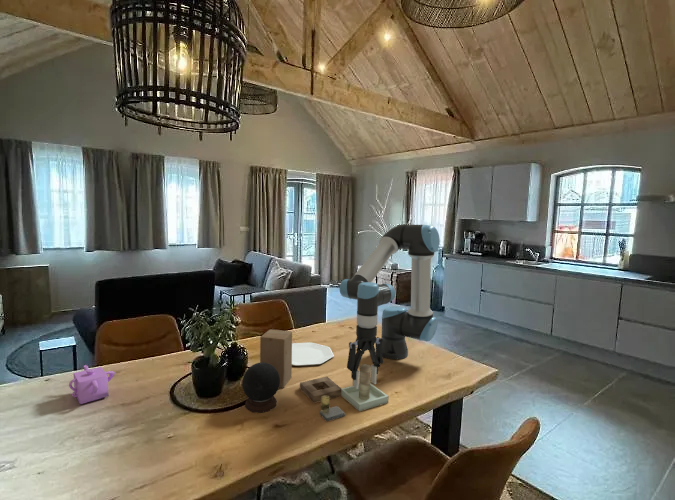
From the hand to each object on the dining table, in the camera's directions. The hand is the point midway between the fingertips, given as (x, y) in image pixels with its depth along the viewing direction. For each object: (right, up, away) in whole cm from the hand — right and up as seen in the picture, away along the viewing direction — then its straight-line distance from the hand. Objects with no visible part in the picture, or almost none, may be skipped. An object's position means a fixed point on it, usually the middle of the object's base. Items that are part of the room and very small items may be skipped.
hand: (364, 384), depth 134 cm
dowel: (0, -5, +1) cm, 5 cm away
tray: (0, -5, +1) cm, 5 cm away
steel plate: (-12, -6, -11) cm, 17 cm away
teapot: (-99, -3, -2) cm, 100 cm away
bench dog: (-14, -6, -7) cm, 17 cm away
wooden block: (-35, -4, +12) cm, 37 cm away
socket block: (-17, -5, +5) cm, 18 cm away
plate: (-26, -1, +41) cm, 48 cm away
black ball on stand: (-37, -5, -5) cm, 38 cm away
